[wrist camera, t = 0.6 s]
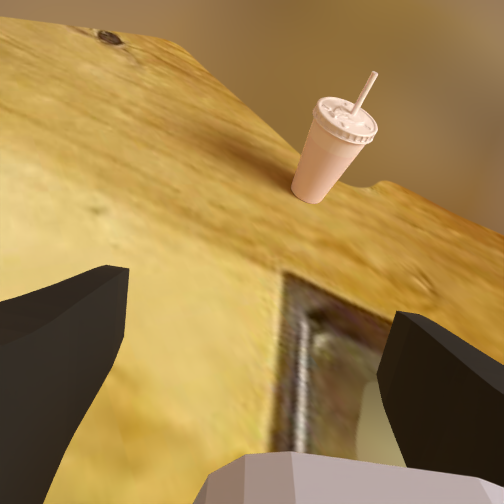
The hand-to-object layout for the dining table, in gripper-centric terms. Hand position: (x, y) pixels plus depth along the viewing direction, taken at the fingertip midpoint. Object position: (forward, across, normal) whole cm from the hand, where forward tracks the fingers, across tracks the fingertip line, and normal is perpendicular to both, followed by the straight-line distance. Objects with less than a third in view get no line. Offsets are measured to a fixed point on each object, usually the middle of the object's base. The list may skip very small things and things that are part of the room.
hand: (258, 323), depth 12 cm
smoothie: (+38, -6, +4) cm, 39 cm away
